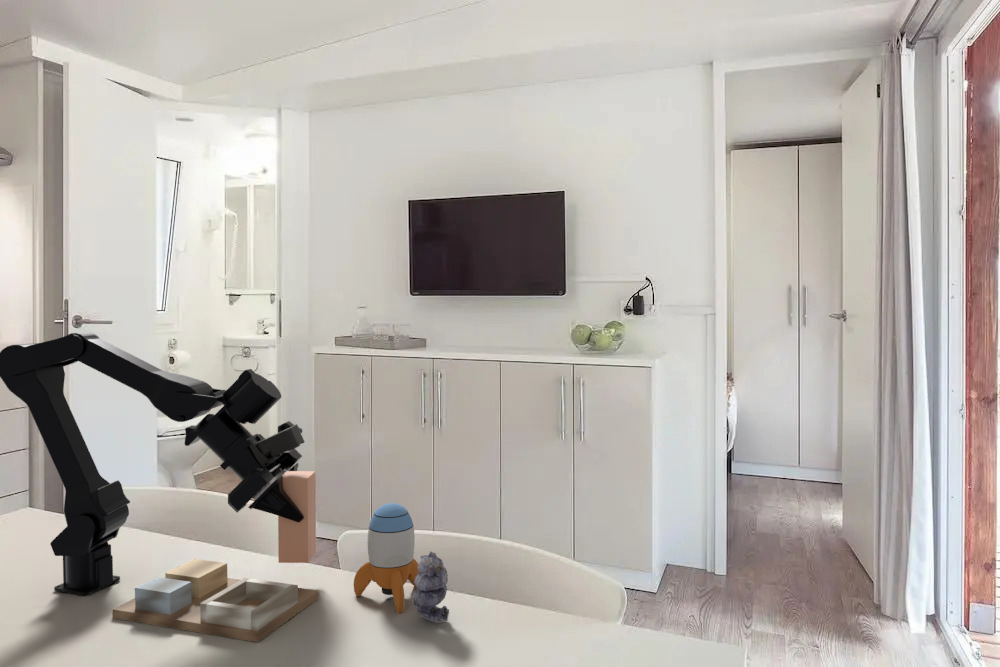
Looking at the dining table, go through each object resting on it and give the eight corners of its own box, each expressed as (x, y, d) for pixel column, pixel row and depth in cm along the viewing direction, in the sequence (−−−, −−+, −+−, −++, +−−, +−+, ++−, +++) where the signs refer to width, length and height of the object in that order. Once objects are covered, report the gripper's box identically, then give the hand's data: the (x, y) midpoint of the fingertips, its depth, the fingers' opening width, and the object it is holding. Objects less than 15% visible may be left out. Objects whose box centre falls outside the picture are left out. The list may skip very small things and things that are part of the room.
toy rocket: (416, 621, 95) (392, 522, 93) (346, 627, 97) (321, 530, 95) (435, 582, 105) (414, 491, 103) (371, 588, 107) (350, 500, 105)
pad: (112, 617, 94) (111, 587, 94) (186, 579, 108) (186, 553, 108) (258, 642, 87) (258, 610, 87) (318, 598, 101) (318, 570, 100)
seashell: (455, 617, 94) (455, 546, 94) (440, 635, 89) (439, 560, 89) (421, 612, 96) (420, 542, 96) (403, 629, 91) (403, 555, 90)
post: (278, 562, 103) (277, 478, 103) (287, 552, 108) (286, 471, 107) (308, 562, 103) (307, 478, 103) (315, 552, 108) (315, 471, 107)
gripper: (249, 417, 95) (328, 495, 96) (289, 400, 114) (355, 465, 115) (193, 473, 96) (272, 550, 96) (242, 446, 114) (308, 511, 115)
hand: (306, 515), depth 105 cm, fingers closed on post, 4 cm apart
